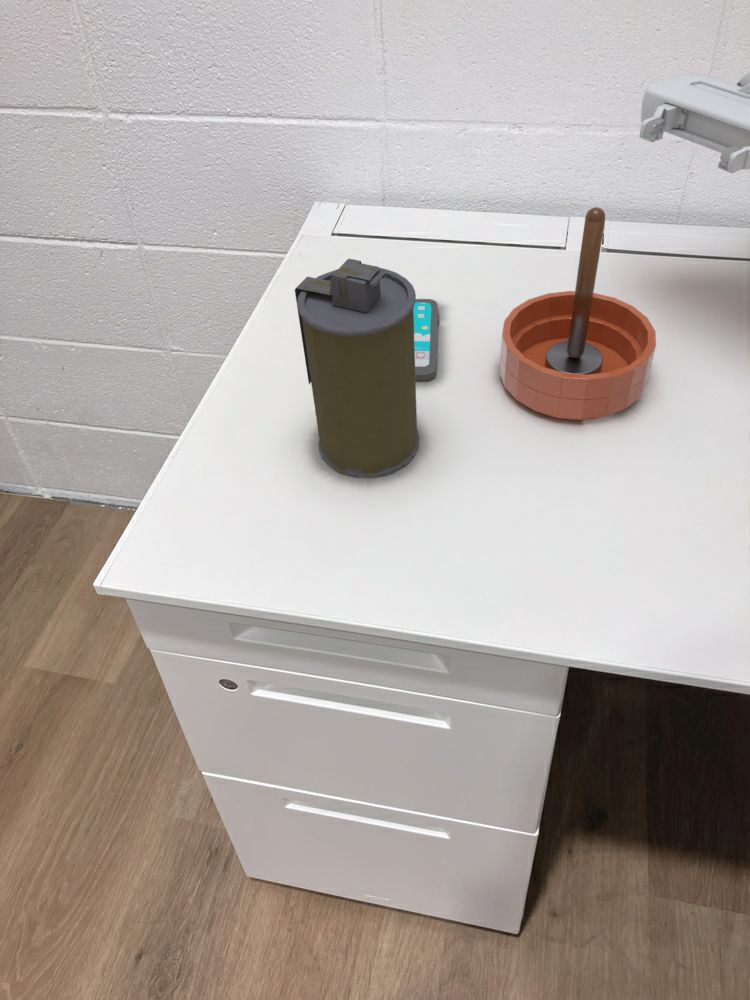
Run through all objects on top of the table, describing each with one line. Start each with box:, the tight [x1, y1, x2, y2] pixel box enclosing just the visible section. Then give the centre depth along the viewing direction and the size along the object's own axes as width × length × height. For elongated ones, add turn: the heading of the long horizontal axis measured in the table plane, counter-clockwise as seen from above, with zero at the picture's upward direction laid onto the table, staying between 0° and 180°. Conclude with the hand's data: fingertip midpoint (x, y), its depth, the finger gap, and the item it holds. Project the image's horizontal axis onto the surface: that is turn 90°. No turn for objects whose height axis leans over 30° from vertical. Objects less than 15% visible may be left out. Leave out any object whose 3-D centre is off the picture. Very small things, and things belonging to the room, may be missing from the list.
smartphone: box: [413, 298, 440, 382], centre depth 94 cm, size 9×1×15 cm
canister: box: [294, 258, 420, 479], centre depth 76 cm, size 11×10×20 cm
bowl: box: [498, 290, 657, 421], centre depth 86 cm, size 16×16×6 cm
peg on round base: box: [545, 206, 606, 375], centre depth 81 cm, size 6×6×19 cm
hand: (684, 147), depth 76 cm, fingers open, 8 cm apart
